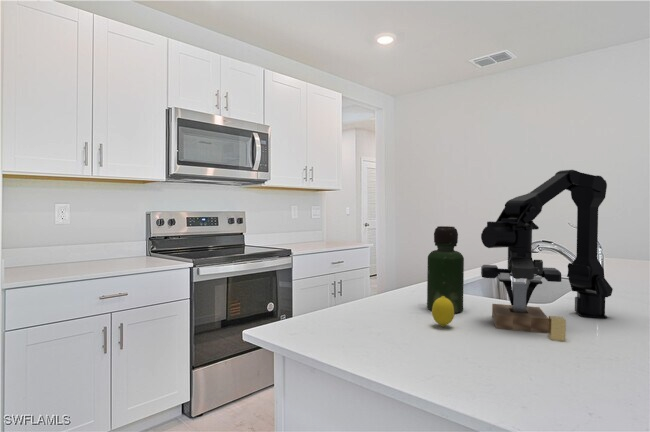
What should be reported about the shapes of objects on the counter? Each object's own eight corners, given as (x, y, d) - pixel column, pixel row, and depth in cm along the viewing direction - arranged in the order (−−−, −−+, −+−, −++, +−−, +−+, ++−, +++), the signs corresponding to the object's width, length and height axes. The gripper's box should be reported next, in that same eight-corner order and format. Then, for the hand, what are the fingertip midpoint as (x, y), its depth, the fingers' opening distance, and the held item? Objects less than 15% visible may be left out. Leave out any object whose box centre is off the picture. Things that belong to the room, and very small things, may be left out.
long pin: (523, 319, 109) (524, 282, 108) (525, 322, 106) (526, 284, 106) (511, 318, 110) (512, 281, 109) (513, 321, 107) (513, 283, 107)
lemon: (455, 330, 102) (455, 299, 102) (432, 329, 103) (432, 298, 103) (452, 324, 107) (453, 294, 107) (431, 323, 108) (431, 293, 108)
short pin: (562, 337, 97) (562, 316, 97) (565, 341, 94) (565, 320, 94) (548, 336, 98) (548, 315, 98) (551, 340, 95) (551, 319, 95)
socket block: (539, 319, 112) (539, 307, 112) (548, 332, 100) (548, 318, 100) (492, 315, 115) (492, 303, 115) (495, 328, 104) (496, 314, 104)
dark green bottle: (462, 315, 116) (463, 228, 115) (425, 312, 119) (426, 227, 118) (463, 306, 125) (464, 226, 125) (428, 303, 129) (429, 225, 128)
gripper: (483, 248, 102) (482, 310, 103) (567, 251, 97) (566, 316, 97) (481, 244, 113) (480, 300, 114) (556, 246, 107) (555, 305, 108)
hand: (518, 305), depth 108 cm, fingers closed on long pin, 3 cm apart
